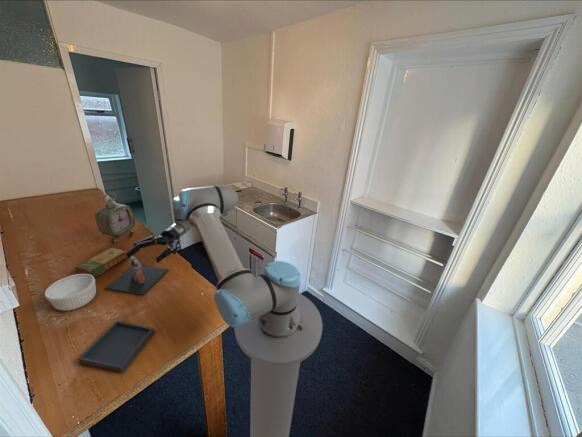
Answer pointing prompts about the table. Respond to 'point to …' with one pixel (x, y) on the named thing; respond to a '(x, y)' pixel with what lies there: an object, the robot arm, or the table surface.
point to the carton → (101, 262)
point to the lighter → (136, 270)
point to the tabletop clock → (114, 218)
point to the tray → (117, 346)
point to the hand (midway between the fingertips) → (142, 257)
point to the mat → (131, 286)
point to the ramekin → (71, 292)
